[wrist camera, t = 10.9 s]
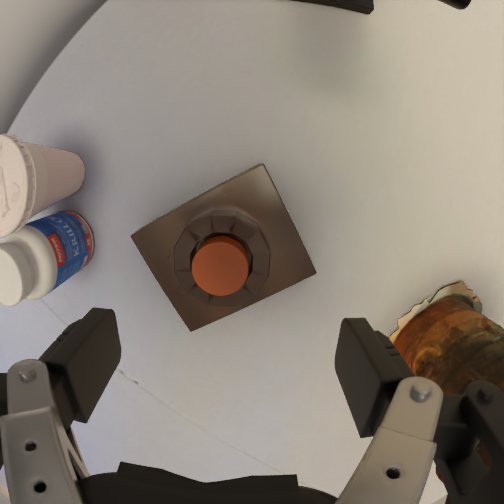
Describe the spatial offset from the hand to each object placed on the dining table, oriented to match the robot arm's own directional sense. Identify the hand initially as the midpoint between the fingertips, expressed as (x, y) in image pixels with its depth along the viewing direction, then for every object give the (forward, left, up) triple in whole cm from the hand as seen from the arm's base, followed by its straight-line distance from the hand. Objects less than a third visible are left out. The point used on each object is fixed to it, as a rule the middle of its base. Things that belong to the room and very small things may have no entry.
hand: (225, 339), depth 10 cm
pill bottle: (-13, +7, -15) cm, 21 cm away
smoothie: (-10, +12, -15) cm, 22 cm away
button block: (-1, 0, -15) cm, 15 cm away
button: (-1, 0, -11) cm, 11 cm away
